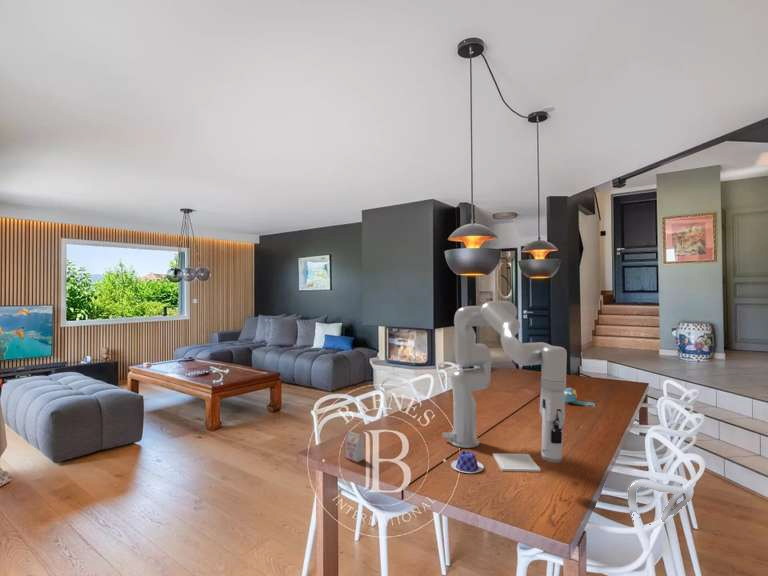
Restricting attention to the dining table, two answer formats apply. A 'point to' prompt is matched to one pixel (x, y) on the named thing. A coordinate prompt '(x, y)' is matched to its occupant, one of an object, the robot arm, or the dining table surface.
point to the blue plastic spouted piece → (574, 397)
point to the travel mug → (549, 441)
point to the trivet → (516, 462)
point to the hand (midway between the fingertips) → (551, 438)
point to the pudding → (467, 463)
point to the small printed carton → (354, 447)
